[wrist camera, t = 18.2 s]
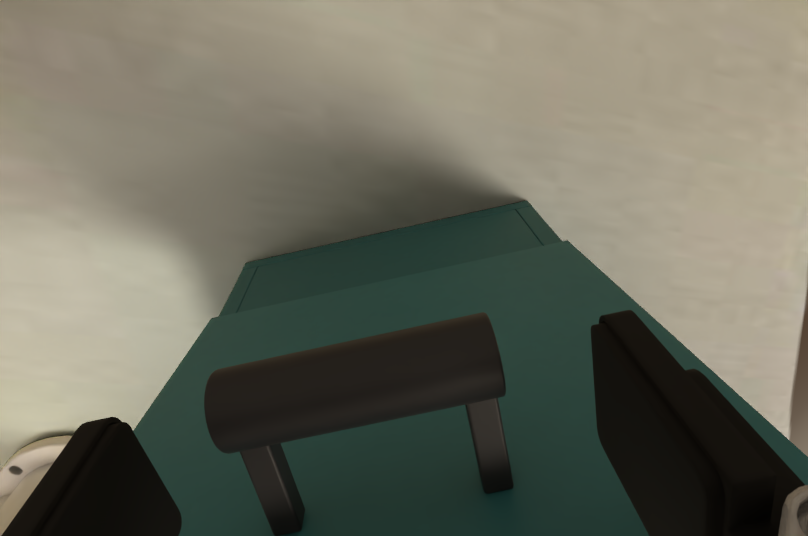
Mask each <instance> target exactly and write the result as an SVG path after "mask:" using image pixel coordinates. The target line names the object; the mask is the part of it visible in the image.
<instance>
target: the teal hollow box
mask: <svg viewBox="0 0 808 536" xmlns="http://www.w3.org/2000/svg"><path fill="white" fill-rule="evenodd" d="M558 242H562V240H561V239H560V238H559V237H558V236H557V235H556V234H555V232H554V231H553V230H552V229H551V228H550V227H549V226H548V224H547V223H546V222H545V221H544V220H543V219H542V217H541V216H540V215H539V214H538V213H537V212H536V211H535V209H534V208H533V207H532V206H531V204H530V203H529V202H528V201H522V202H518V203H513V204H509V205H504V206H500V207H495V208H491V209H486V210H482V211H477V212H473V213H468V214H464V215H459V216H455V217H450V218H446V219H441V220H437V221H432V222H428V223H423V224H419V225H414V226H410V227H405V228H401V229H396V230H392V231H387V232H383V233H378V234H374V235H369V236H365V237H360V238H356V239H351V240H347V241H342V242H338V243H333V244H329V245H324V246H320V247H315V248H311V249H306V250H302V251H297V252H293V253H289V254H284V255H280V256H275V257H271V258H266V259H262V260H257V261H253V262H248V263H246V264H245V266H244V268H243V270H242V272H241V274H240V276H239V278H238V280H237V282H236V284H235V286H234V288H233V290H232V292H231V294H230V296H229V298H228V300H227V302H226V304H225V306H224V307H223V309H222V311H221V313H220V315H219V317H220V316H224V315H229V314H234V313H238V312H243V311H247V310H252V309H256V308H261V307H266V306H270V305H275V304H279V303H284V302H288V301H293V300H298V299H302V298H307V297H311V296H316V295H320V294H325V293H330V292H334V291H339V290H343V289H348V288H352V287H357V286H362V285H366V284H371V283H375V282H380V281H384V280H389V279H393V278H398V277H403V276H407V275H412V274H416V273H421V272H425V271H430V270H435V269H439V268H444V267H448V266H453V265H457V264H462V263H467V262H471V261H476V260H480V259H485V258H489V257H494V256H499V255H503V254H508V253H512V252H517V251H521V250H526V249H531V248H535V247H540V246H544V245H549V244H553V243H558Z"/></svg>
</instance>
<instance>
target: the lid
mask: <svg viewBox="0 0 808 536" xmlns="http://www.w3.org/2000/svg"><path fill="white" fill-rule="evenodd" d="M625 310H632V311H633V312H634V313H635V314H636V315H637V316H638V317H639V318H640V319H641V320H642V322H643V323H644V324H645V325H646V326H647V327H648V328H649V330H650V331H651V332H652V333H653V334H654V335H655V336H656V338H657V339H658V340H659V341H660V342H661V343H662V344H663V346H664V347H665V348H666V349H667V350H668V351H669V352H670V354H671V355H672V356H673V357H674V358H675V359H676V360H677V362H678V363H679V364H680V365H681V366H682V367H683V368H684V370H689V369H696V370H699V371H700V372H701V373H702V374H704V375H705V376H706V377H707V378H708V379H709V380H710V382H711V383H712V384H713V385H714V386H715V387H716V388H717V389H718V390H719V391H720V392H721V394H722V395H723V396H724V397H725V398H726V399H727V400H728V401H729V402H730V403H731V404H732V406H733V407H734V408H735V409H736V410H737V411H738V412H739V413H740V414H741V415H742V416H743V417H744V419H745V420H746V421H747V422H748V423H749V424H750V425H751V426H752V427H753V428H754V429H755V431H756V432H757V433H758V434H759V435H760V436H761V437H762V438H763V439H764V440H765V441H766V443H767V444H768V445H769V446H770V447H771V448H772V449H773V450H774V451H775V452H776V453H777V455H778V456H779V457H780V458H781V459H782V460H783V461H784V462H785V463H786V464H787V465H788V467H789V468H790V469H791V470H792V471H793V472H794V473H795V474H796V475H797V476H798V477H799V479H800V480H801V481H802V482H803V483H804V484H805V485H808V457H807V456H806V455H805V454H804V453H803V452H801V451H800V450H799V449H798V448H797V447H796V446H795V445H794V444H793V443H792V442H790V441H789V440H788V439H787V438H786V437H785V436H784V435H783V434H782V433H780V432H779V431H778V430H777V429H776V428H775V427H774V426H773V425H772V424H770V423H769V422H768V421H767V420H766V419H765V418H764V417H763V416H762V415H760V414H759V413H758V412H757V411H756V410H755V409H754V408H753V407H752V406H750V405H749V404H748V403H747V402H746V401H745V400H744V399H743V398H742V397H740V396H739V395H738V394H737V393H736V392H735V391H734V390H733V389H732V388H731V387H729V386H728V385H727V384H726V383H725V382H724V381H723V380H722V379H721V378H719V377H718V376H717V375H716V374H715V373H714V372H713V371H712V370H711V369H709V368H708V367H707V366H706V365H705V364H704V363H703V362H702V361H701V360H699V359H698V358H697V357H696V356H695V355H694V354H693V353H692V352H691V351H689V350H688V349H687V348H686V347H685V346H684V345H683V344H682V343H681V342H679V341H678V340H677V339H676V338H675V337H674V336H673V335H672V334H671V333H670V332H668V331H667V330H666V329H665V328H664V327H663V326H662V325H661V324H660V323H658V322H657V321H656V320H655V319H654V318H653V317H652V316H651V315H650V314H648V313H647V312H646V311H645V310H644V309H643V308H642V307H641V306H640V305H638V304H637V303H636V302H635V301H634V300H633V299H632V298H631V297H630V296H628V295H627V294H626V293H625V292H624V291H623V290H622V289H621V288H620V287H619V286H617V285H616V284H615V283H614V282H613V281H612V280H611V279H610V278H609V277H607V276H606V275H605V274H604V273H603V272H602V271H601V270H600V269H599V268H597V267H596V266H595V265H594V264H593V263H592V262H591V261H590V260H589V259H587V258H586V257H585V256H584V255H583V254H582V253H581V252H580V251H579V250H577V249H576V248H575V247H574V246H573V245H572V244H571V243H570V242H569V241H563V242H558V243H553V244H549V245H544V246H540V247H535V248H531V249H526V250H521V251H517V252H512V253H508V254H503V255H499V256H494V257H489V258H485V259H480V260H476V261H471V262H467V263H462V264H457V265H453V266H448V267H444V268H439V269H435V270H430V271H425V272H421V273H416V274H412V275H407V276H403V277H398V278H393V279H389V280H384V281H380V282H375V283H371V284H366V285H362V286H357V287H352V288H348V289H343V290H339V291H334V292H330V293H325V294H320V295H316V296H311V297H307V298H302V299H298V300H293V301H288V302H284V303H279V304H275V305H270V306H266V307H261V308H256V309H252V310H247V311H243V312H238V313H234V314H229V315H224V316H220V317H215V318H212V319H211V320H210V321H209V323H208V324H207V325H206V327H205V328H204V330H203V331H202V333H201V334H200V336H199V337H198V338H197V340H196V341H195V343H194V344H193V346H192V347H191V349H190V350H189V351H188V353H187V354H186V356H185V357H184V359H183V360H182V362H181V363H180V364H179V366H178V367H177V369H176V370H175V372H174V373H173V375H172V376H171V377H170V379H169V380H168V382H167V383H166V385H165V386H164V388H163V389H162V390H161V392H160V393H159V395H158V396H157V398H156V399H155V401H154V402H153V403H152V405H151V406H150V408H149V409H148V411H147V412H146V413H145V415H144V416H143V418H142V419H141V421H140V422H139V424H138V425H137V426H136V428H135V429H134V431H133V432H134V434H135V435H136V437H137V439H138V441H139V442H140V444H141V446H142V447H143V449H144V451H145V452H146V454H147V456H148V458H149V459H150V461H151V463H152V464H153V466H154V468H155V470H156V471H157V473H158V475H159V476H160V478H161V480H162V481H163V483H164V485H165V487H166V488H167V490H168V492H169V493H170V495H171V497H172V499H173V500H174V502H175V504H176V505H177V507H178V509H179V511H180V513H181V517H182V525H181V530H180V533H179V536H649V534H648V532H647V531H646V529H645V527H644V525H643V523H642V521H641V519H640V517H639V515H638V514H637V512H636V510H635V508H634V506H633V504H632V502H631V500H630V498H629V497H628V495H627V493H626V491H625V489H624V487H623V485H622V483H621V481H620V479H619V478H618V476H617V474H616V472H615V470H614V468H613V466H612V464H611V462H610V461H609V459H608V457H607V455H606V453H605V451H604V449H603V447H602V445H601V442H600V439H599V436H598V432H597V421H596V406H595V391H594V375H593V360H592V345H591V326H592V325H595V324H599V318H600V316H601V315H606V314H611V313H616V312H621V311H625Z"/></svg>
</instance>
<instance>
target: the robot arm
mask: <svg viewBox="0 0 808 536" xmlns="http://www.w3.org/2000/svg"><path fill="white" fill-rule="evenodd" d="M591 345H592V360H593V375H594V391H595V406H596V421H597V432H598V436H599V439H600V442H601V445H602V447H603V449H604V451H605V453H606V455H607V457H608V459H609V461H610V462H611V464H612V466H613V468H614V470H615V472H616V474H617V476H618V478H619V479H620V481H621V483H622V485H623V487H624V489H625V491H626V493H627V495H628V497H629V498H630V500H631V502H632V504H633V506H634V508H635V510H636V512H637V514H638V515H639V517H640V519H641V521H642V523H643V525H644V527H645V529H646V531H647V532H648V534H649V536H808V485H805V484H804V483H803V482H802V481H801V480H800V479H799V477H798V476H797V475H796V474H795V473H794V472H793V471H792V470H791V469H790V468H789V467H788V465H787V464H786V463H785V462H784V461H783V460H782V459H781V458H780V457H779V456H778V455H777V453H776V452H775V451H774V450H773V449H772V448H771V447H770V446H769V445H768V444H767V443H766V441H765V440H764V439H763V438H762V437H761V436H760V435H759V434H758V433H757V432H756V431H755V429H754V428H753V427H752V426H751V425H750V424H749V423H748V422H747V421H746V420H745V419H744V417H743V416H742V415H741V414H740V413H739V412H738V411H737V410H736V409H735V408H734V407H733V406H732V404H731V403H730V402H729V401H728V400H727V399H726V398H725V397H724V396H723V395H722V394H721V392H720V391H719V390H718V389H717V388H716V387H715V386H714V385H713V384H712V383H711V382H710V380H709V379H708V378H707V377H706V376H705V375H704V374H702V373H701V372H700V371H699V370H696V369H689V370H684V368H683V367H682V366H681V365H680V364H679V363H678V362H677V360H676V359H675V358H674V357H673V356H672V355H671V354H670V352H669V351H668V350H667V349H666V348H665V347H664V346H663V344H662V343H661V342H660V341H659V340H658V339H657V338H656V336H655V335H654V334H653V333H652V332H651V331H650V330H649V328H648V327H647V326H646V325H645V324H644V323H643V322H642V320H641V319H640V318H639V317H638V316H637V315H636V314H635V313H634V312H633V311H632V310H625V311H621V312H616V313H611V314H606V315H601V316H600V318H599V324H595V325H592V326H591ZM181 525H182V517H181V513H180V511H179V509H178V507H177V505H176V504H175V502H174V500H173V499H172V497H171V495H170V493H169V492H168V490H167V488H166V487H165V485H164V483H163V481H162V480H161V478H160V476H159V475H158V473H157V471H156V470H155V468H154V466H153V464H152V463H151V461H150V459H149V458H148V456H147V454H146V452H145V451H144V449H143V447H142V446H141V444H140V442H139V441H138V439H137V437H136V435H135V434H134V432H133V430H132V429H131V427H130V426H129V425H128V424H127V423H125V422H121V421H120V420H119V419H118V418H116V417H110V418H105V419H100V420H95V421H91V422H86V423H84V424H82V425H81V426H80V427H79V428H78V429H77V431H76V432H75V433H74V435H73V436H58V437H50V438H46V439H43V440H39V441H36V442H33V443H31V444H29V445H27V446H25V447H24V448H22V449H20V450H19V451H18V452H17V453H15V454H14V455H13V456H12V457H11V458H10V459H9V460H8V462H7V463H6V464H5V465H4V467H3V468H2V469H1V470H0V536H179V533H180V530H181Z"/></svg>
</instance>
